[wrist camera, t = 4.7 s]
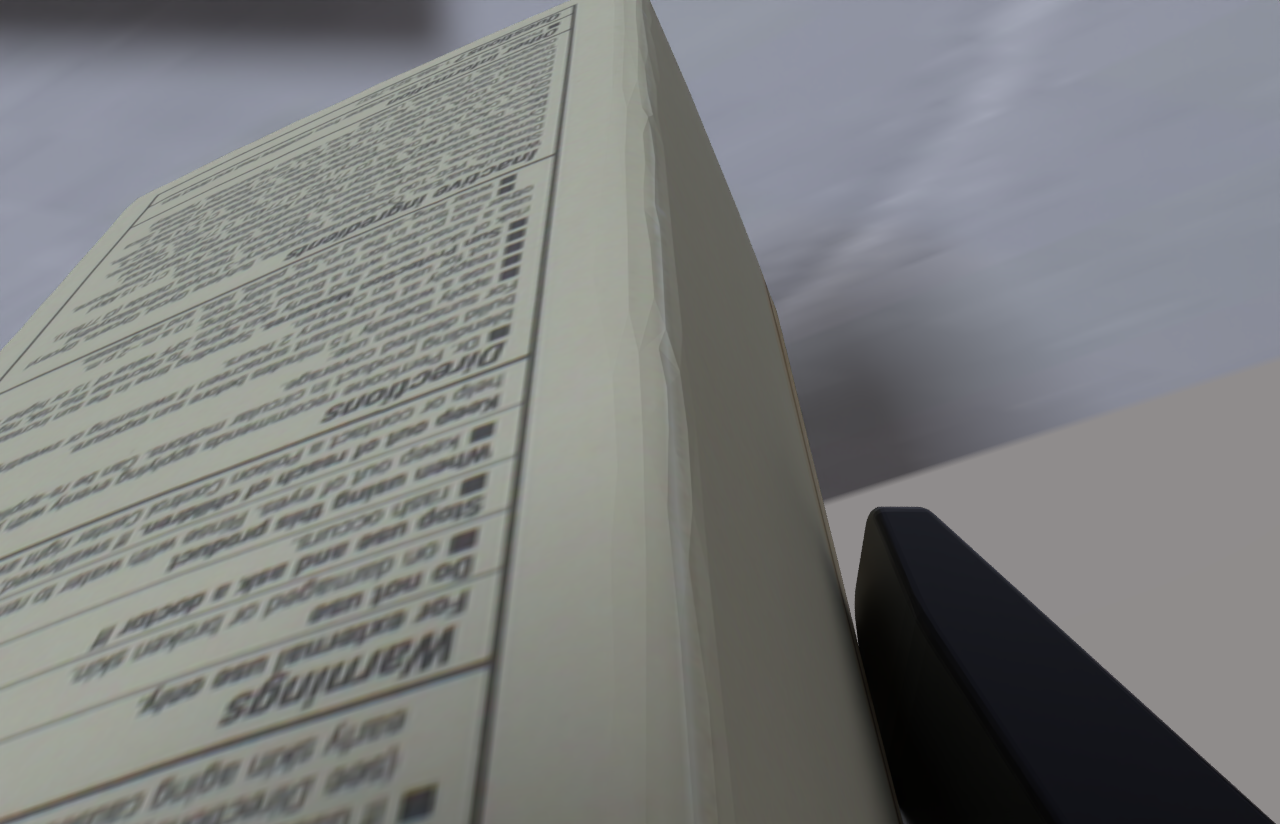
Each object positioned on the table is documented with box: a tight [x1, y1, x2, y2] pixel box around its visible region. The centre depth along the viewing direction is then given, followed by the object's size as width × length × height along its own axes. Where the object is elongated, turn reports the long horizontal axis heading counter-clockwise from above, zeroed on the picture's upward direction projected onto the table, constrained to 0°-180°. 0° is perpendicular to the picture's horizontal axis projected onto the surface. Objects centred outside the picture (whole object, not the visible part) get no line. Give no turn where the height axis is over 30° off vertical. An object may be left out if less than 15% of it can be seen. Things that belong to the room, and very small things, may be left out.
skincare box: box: [0, 0, 903, 824], centre depth 8 cm, size 6×4×12 cm
